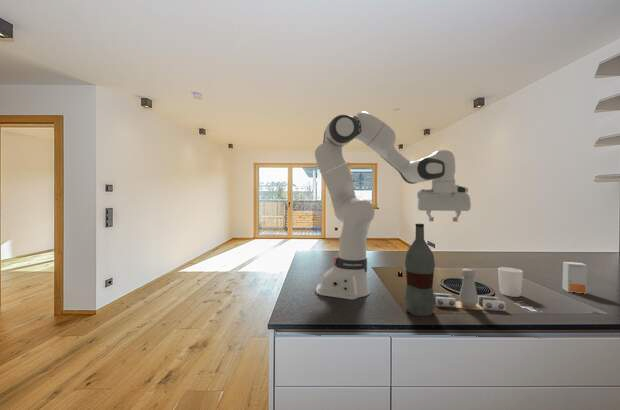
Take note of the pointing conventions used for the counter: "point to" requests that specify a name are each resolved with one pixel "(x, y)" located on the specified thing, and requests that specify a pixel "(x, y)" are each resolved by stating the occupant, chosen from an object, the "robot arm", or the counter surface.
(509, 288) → the white cup
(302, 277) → the counter surface
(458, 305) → the pad
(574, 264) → the skincare box
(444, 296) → the chain end
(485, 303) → the chain end
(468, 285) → the salt shaker
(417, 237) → the bottle
